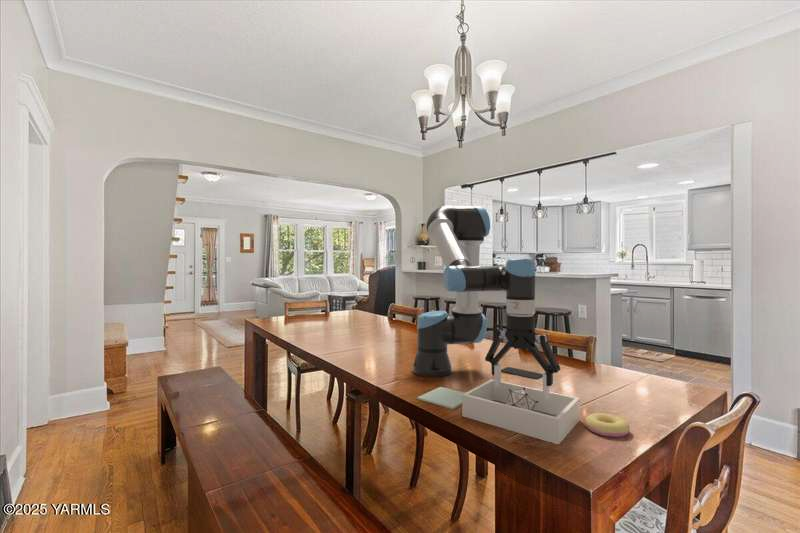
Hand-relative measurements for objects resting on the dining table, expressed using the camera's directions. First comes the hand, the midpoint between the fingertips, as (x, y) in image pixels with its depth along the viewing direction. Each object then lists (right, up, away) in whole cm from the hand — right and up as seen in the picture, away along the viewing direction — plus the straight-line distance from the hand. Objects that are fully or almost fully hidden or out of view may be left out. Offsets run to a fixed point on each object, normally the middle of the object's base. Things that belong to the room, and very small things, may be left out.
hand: (520, 392), depth 104 cm
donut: (+20, -8, -7) cm, 22 cm away
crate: (0, -7, 0) cm, 7 cm away
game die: (0, -8, 0) cm, 8 cm away
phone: (+14, -7, +42) cm, 45 cm away
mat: (-19, -7, +16) cm, 25 cm away
